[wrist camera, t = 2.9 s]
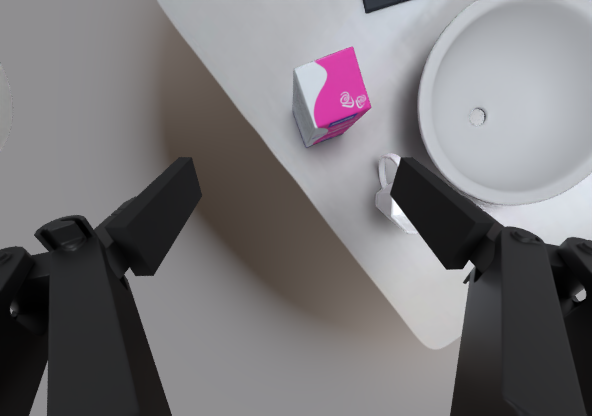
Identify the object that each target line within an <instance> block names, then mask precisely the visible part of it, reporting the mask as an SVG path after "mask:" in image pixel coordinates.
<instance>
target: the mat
mask: <svg viewBox="0 0 592 416" xmlns="http://www.w3.org/2000/svg"><path fill="white" fill-rule="evenodd" d="M404 1H408V0H363V3H364V7H365V12H366V13H368V12H372V11H375V10H378V9H381V8H385V7H388V6H391V5H395V4H398V3H401V2H404Z"/></svg>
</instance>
